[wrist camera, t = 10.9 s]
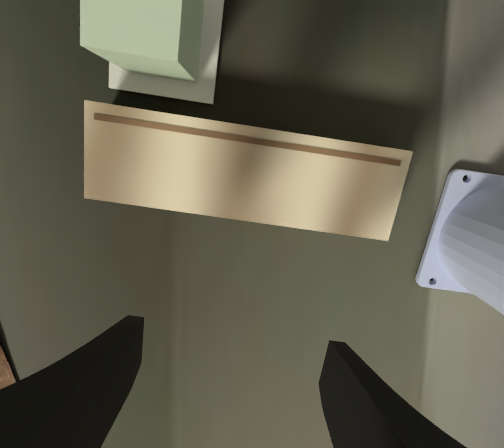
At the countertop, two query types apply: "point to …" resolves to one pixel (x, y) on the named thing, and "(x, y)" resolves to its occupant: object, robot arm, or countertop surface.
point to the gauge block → (145, 35)
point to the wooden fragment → (5, 371)
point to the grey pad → (175, 87)
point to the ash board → (241, 171)
